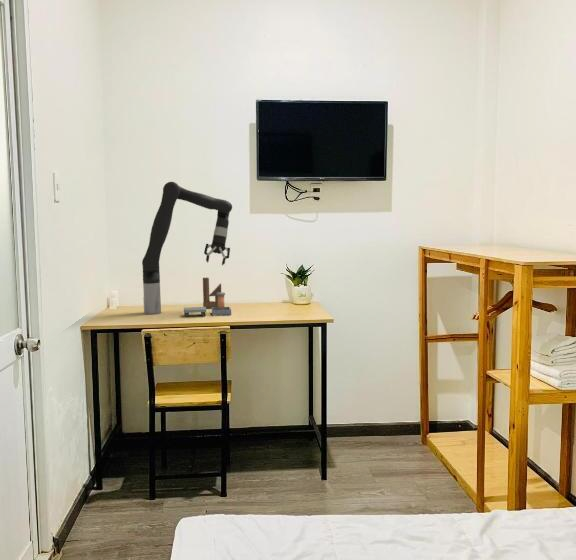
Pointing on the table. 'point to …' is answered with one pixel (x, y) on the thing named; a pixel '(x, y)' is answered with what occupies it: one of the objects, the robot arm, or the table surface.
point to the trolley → (194, 310)
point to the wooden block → (206, 299)
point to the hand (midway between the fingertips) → (215, 263)
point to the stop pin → (220, 300)
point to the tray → (221, 311)
